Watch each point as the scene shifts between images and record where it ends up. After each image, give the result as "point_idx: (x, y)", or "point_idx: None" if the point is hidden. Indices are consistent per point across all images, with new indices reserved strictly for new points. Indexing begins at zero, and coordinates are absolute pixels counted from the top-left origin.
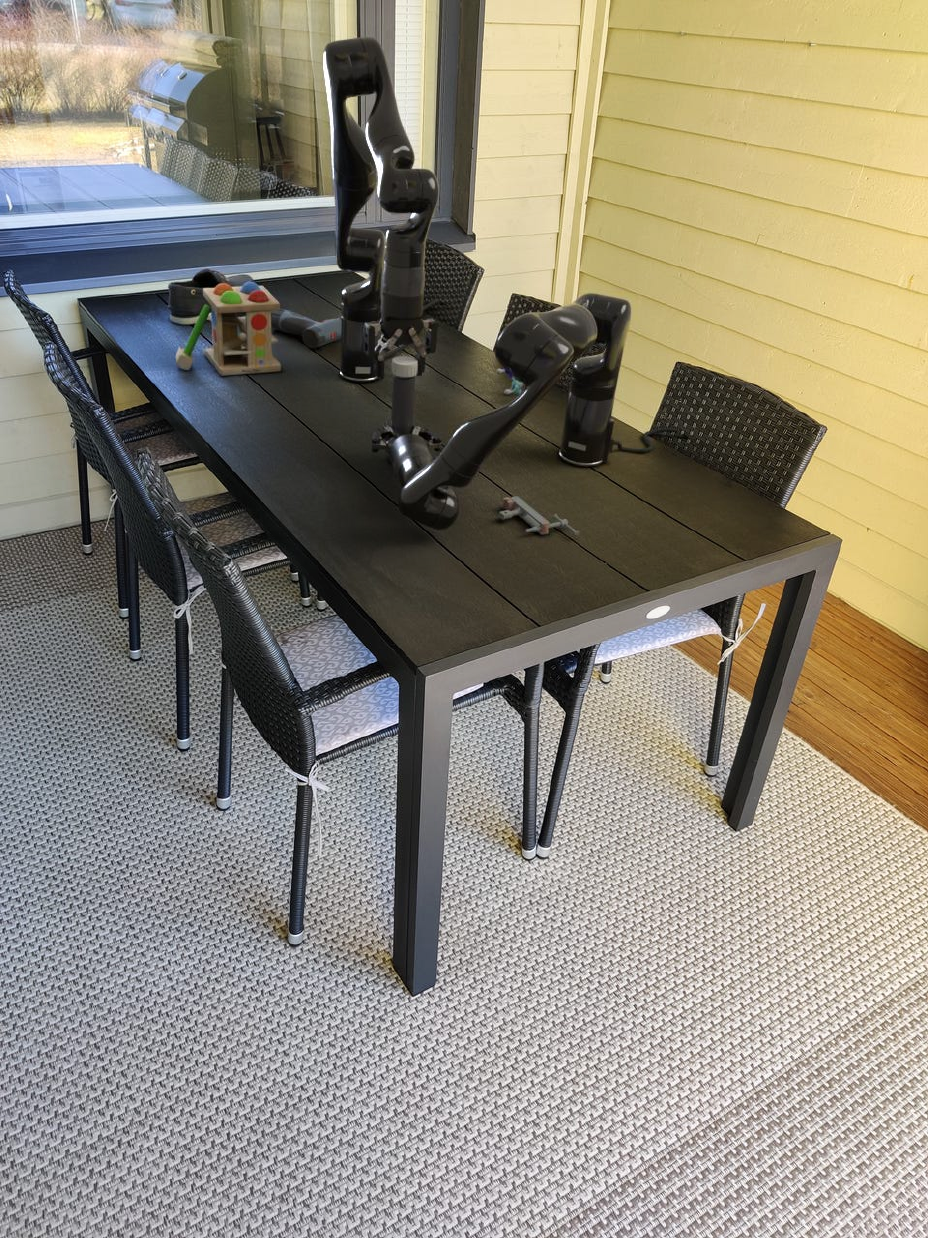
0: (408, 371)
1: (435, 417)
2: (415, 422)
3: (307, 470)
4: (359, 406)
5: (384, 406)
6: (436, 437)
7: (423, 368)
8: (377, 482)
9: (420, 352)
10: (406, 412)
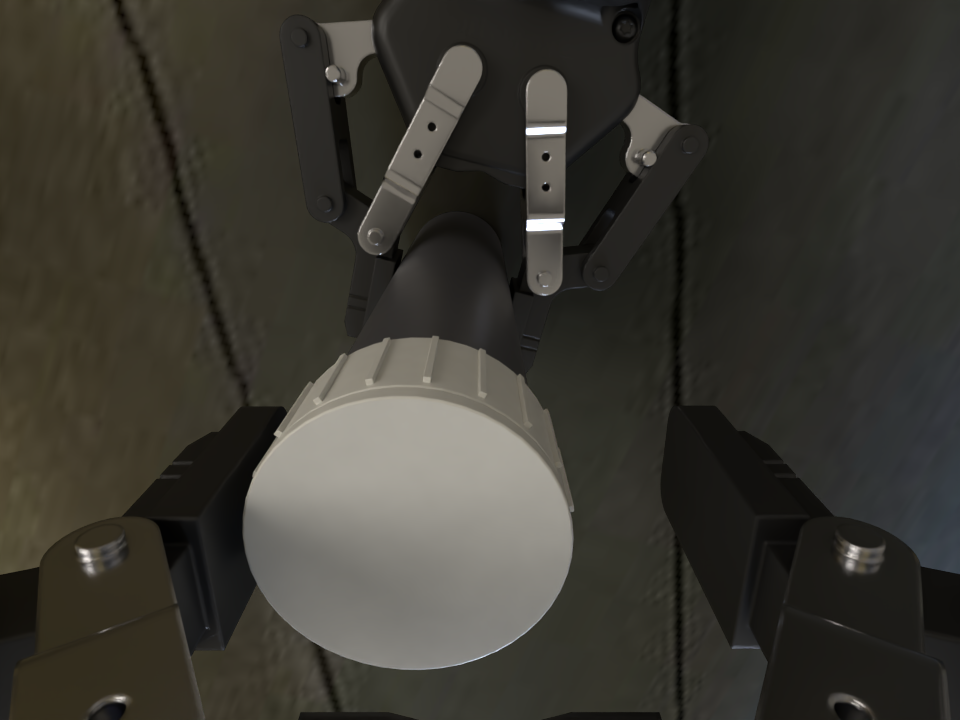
0: (427, 359)
1: None
2: (353, 333)
3: (864, 275)
4: (432, 699)
5: (344, 683)
6: (307, 63)
7: (196, 453)
8: (644, 73)
9: (149, 567)
10: (446, 261)
